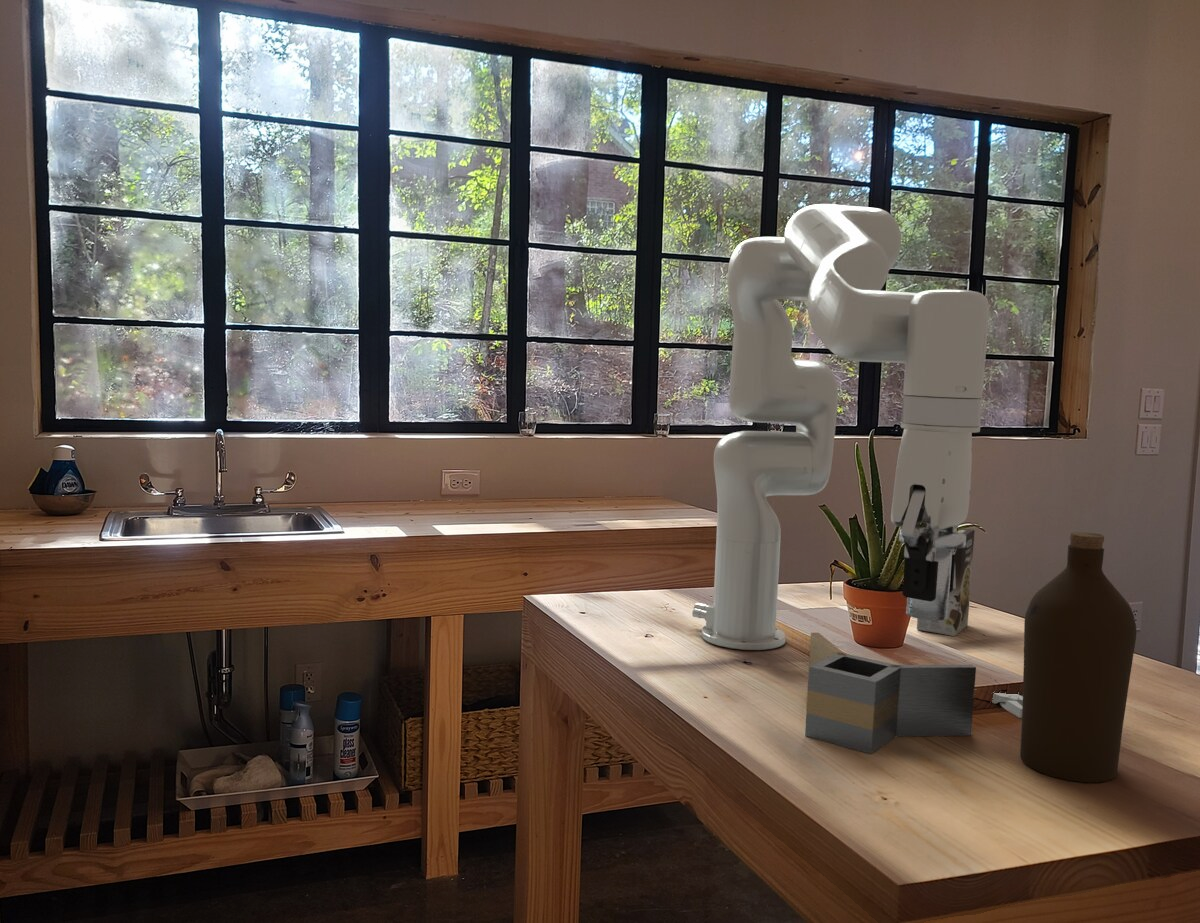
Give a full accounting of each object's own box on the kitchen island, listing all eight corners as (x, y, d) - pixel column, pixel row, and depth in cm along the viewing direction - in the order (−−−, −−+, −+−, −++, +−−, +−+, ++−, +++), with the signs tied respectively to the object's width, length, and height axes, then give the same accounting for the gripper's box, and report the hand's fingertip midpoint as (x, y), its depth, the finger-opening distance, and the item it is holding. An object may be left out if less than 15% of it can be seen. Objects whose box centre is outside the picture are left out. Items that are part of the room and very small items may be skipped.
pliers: (994, 668, 136) (1069, 706, 122) (994, 680, 136) (1068, 718, 122) (929, 671, 134) (997, 709, 120) (929, 682, 134) (996, 722, 120)
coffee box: (956, 637, 157) (964, 536, 155) (915, 630, 160) (922, 531, 159) (969, 625, 164) (976, 529, 163) (929, 619, 168) (936, 524, 166)
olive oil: (1084, 794, 99) (1106, 546, 97) (993, 756, 108) (1010, 528, 105) (1144, 774, 105) (1166, 539, 102) (1052, 740, 114) (1070, 523, 111)
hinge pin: (884, 614, 101) (890, 532, 100) (907, 604, 106) (913, 525, 105) (947, 627, 97) (953, 541, 96) (968, 615, 102) (974, 533, 101)
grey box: (755, 721, 116) (758, 654, 115) (809, 692, 127) (813, 631, 126) (929, 770, 103) (934, 695, 103) (972, 733, 115) (978, 666, 114)
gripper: (933, 411, 108) (921, 576, 110) (871, 415, 95) (859, 602, 97) (1004, 415, 104) (990, 587, 106) (950, 420, 91) (935, 616, 92)
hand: (927, 592), depth 101 cm, fingers closed on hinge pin, 4 cm apart
